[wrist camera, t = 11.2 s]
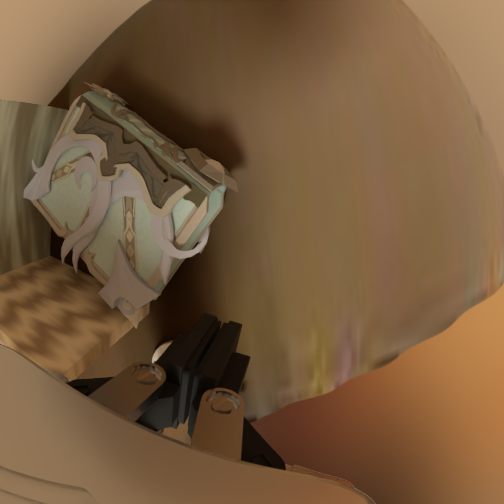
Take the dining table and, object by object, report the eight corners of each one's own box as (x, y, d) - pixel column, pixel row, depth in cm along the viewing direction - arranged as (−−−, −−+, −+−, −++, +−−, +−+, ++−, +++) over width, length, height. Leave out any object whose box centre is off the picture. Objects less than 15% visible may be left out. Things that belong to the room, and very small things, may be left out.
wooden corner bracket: (184, 116, 31) (70, 69, 12) (148, 313, 39) (60, 391, 20) (61, 109, 34) (-33, 98, 15) (44, 262, 42) (-37, 297, 23)
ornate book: (258, 186, 33) (105, 77, 32) (244, 190, 24) (64, 62, 23) (164, 310, 40) (46, 194, 39) (133, 343, 31) (6, 201, 30)
